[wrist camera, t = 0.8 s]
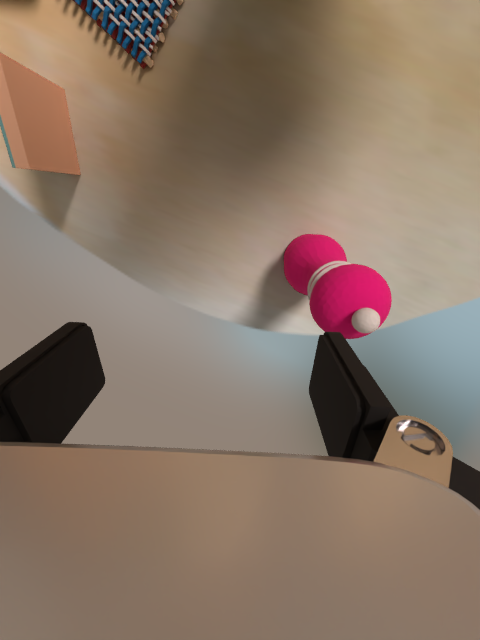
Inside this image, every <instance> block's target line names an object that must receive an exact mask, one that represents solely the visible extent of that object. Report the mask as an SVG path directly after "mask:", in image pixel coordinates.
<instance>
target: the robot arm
mask: <svg viewBox="0 0 480 640" xmlns="http://www.w3.org/2000/svg"><path fill="white" fill-rule="evenodd" d="M104 384H105V376H104V373H103V369H102V365H101V362H100V358H99V355H98V351H97V347H96V343H95V340H94V336H93V332H92V329H91V328H90V327H89V326H87V324H85V323H79V322H68V323H66V324H65V325H63V326H62V327H61V328H59V329H58V330H56V331H55V332H54V333H52V334H51V335H50V336H48V337H47V338H45V339H44V340H43V341H41V342H40V343H38V344H37V345H35V346H34V347H33V348H31V349H30V350H28V351H27V352H26V353H24V354H23V355H21V356H20V357H19V358H17V359H16V360H14V361H13V362H12V363H10V364H9V365H8V366H6V367H5V368H3V369H2V370H0V640H480V472H479V471H478V470H475V469H474V468H472V467H470V466H468V465H467V464H465V463H463V462H461V461H460V460H458V459H456V458H454V457H453V450H452V446H451V444H450V442H449V440H448V439H447V438H446V437H445V435H444V434H443V433H442V432H441V431H439V430H438V429H437V428H435V427H434V426H433V425H431V424H429V423H428V422H426V421H424V420H421V419H418V418H416V417H412V416H407V415H406V416H399V415H398V414H397V412H396V411H395V409H394V408H393V407H392V405H391V403H390V402H389V401H388V399H387V398H386V396H385V395H384V393H383V392H382V390H381V389H380V388H379V386H378V385H377V383H376V382H375V380H374V379H373V377H372V376H371V374H370V373H369V371H368V370H367V369H366V367H365V366H364V365H362V363H361V362H360V360H359V359H358V357H357V356H356V354H355V353H354V351H353V350H352V348H351V347H350V346H349V344H348V342H347V341H346V339H345V338H344V337H343V335H342V334H341V333H340V332H325V333H324V335H320V336H319V340H318V345H317V350H316V355H315V360H314V365H313V370H312V375H311V380H310V385H309V394H310V398H311V400H312V404H313V407H314V410H315V413H316V416H317V419H318V423H319V426H320V430H321V433H322V436H323V439H324V442H325V446H326V449H327V452H328V455H329V456H317V455H302V454H285V453H268V452H267V453H266V452H245V451H225V450H224V451H223V450H204V449H182V448H157V447H134V446H109V445H83V444H81V445H80V444H61V443H62V441H63V440H64V439H65V437H66V436H67V435H68V433H69V432H70V431H71V429H72V428H73V426H74V425H75V424H76V423H77V421H78V420H79V418H80V417H81V416H82V415H83V413H84V412H85V411H86V409H87V408H88V407H89V405H90V404H91V403H92V401H93V400H94V398H95V397H96V396H97V394H98V393H99V392H100V390H101V389H102V388H103V386H104Z"/></svg>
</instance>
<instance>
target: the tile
mask: <svg viewBox="0 0 480 640" xmlns="http://www.w3.org/2000/svg"><path fill="white" fill-rule="evenodd" d="M0 126H1V130H2V133H3V137H4V140H5V143H6V147H7V150H8V154H9V157H10V160H11V164H12V167H13V168H21V169H30V170H38V171H47V172H56V173H64V174H76V175H81V174H80V169H79V164H78V158H77V153H76V148H75V143H74V138H73V132H72V127H71V122H70V117H69V112H68V107H67V101H66V96H65V91H64V89H63V88H61V87H59V86H58V85H56V84H54V83H52V82H51V81H49V80H47V79H45V78H44V77H42V76H40V75H39V74H37V73H35V72H33V71H32V70H30V69H28V68H26V67H25V66H23V65H21V64H19V63H18V62H16V61H14V60H13V59H11V58H9V57H7V56H6V55H4V54H2V53H0Z"/></svg>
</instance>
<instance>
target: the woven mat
mask: <svg viewBox="0 0 480 640" xmlns="http://www.w3.org/2000/svg"><path fill="white" fill-rule="evenodd" d="M73 1H74V2H75V3H76V4H79V5H80V7H81V8H82V9H83V10H84V11H85V9H86V12H87V13H88V15H89V16H90V17H91V18H92V19H94V20H96V22H97V25H98V26H99V27H101V26H102V28H103V29H104V30H105V31H106V32H107V33H109V34H110V35H111V37H112V38H113V39H114V40H117V42H118V44H119V45H120V46H122V47H123V48H124V49H125V51H126V52H127V53H128V54H129V53H130V51H131V50H132V52H131V55H132V57H133V58H134V59H135V60H136V61H138V62H139V63H140V66H141V67H142V68H143V69H144V68H145V67H146V66H147V65H148V66H149V67H150V68H151V67H152V66H153V62H154V61H153V60H152V59H151V51H154V52H155V53H156V51H157V49H158V47H157V46H156V45H155V44H156V42H157V40H159V41H160V42H163V43H164V40H165V37H164V34H163V33H162V32H160V31H161V29H162V27H163V28H166V29H167V27H168V25H169V24H168V21H167V19H166V18H167V16H169V15H171V16H172V17H173V18H174V20H175V19H176V17H177V15H178V12H177V11H176V10H175V9H174V8H173V7H172V6H174V4H175V3H176V1H177V3H178V4H179V6H180V5H181V4H182V3H183V0H154V2H153V3H152V1H153V0H73ZM86 7H87V8H86ZM147 12H148V13H147ZM97 17H98V18H99V19H98V20H97ZM135 18H136V19H135ZM134 33H135V34H134ZM127 35H128V36H127ZM116 38H117V39H116ZM143 45H144V46H143ZM142 49H143V50H142ZM142 60H143V61H142Z"/></svg>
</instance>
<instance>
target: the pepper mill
mask: <svg viewBox="0 0 480 640" xmlns="http://www.w3.org/2000/svg"><path fill="white" fill-rule="evenodd" d="M284 273H285V276H286V279H287V281H288V282H289V284H290V285H291V286H292V287H293V288H294V289H295V290H296V291H298V292H299V293H302V294H304V295H308V297H309V300H310V303H309V304H310V310H311V314H312V316H313V319H314V320H315V322H316V323H317V324H318V326H319V327H320V328H321V329H322V330H324V331H325V332H340V333H341V334H342V335H343V337H344V338H345V339H354V338H359V337H363V336H366V335H368V334H370V333H372V332H373V331H375V330H376V329H377V328H379V327H380V326H381V324H382V323H383V322H384V321H385V319H386V318H387V316H388V314H389V311H390V307H391V292H390V288H389V286H388V284H387V282H386V281H385V280H384V279H383V277H382V276H381V275H380V274H379V273H377V272H376V271H375V270H373V269H371V268H369V267H367V266H363V265H358V264H351V263H349V262H347V260H346V255H345V253H344V250H343V249H342V247H341V246H340V245H339V244H338V243H337V242H336V241H335V240H334V239H332V238H330V237H328V236H325V235H313V234H305V235H302V236H299V237H297V238H296V239H294V240H293V241H292V242H291V243H290V244H289V245H288V247H287V249H286V251H285V254H284Z"/></svg>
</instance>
